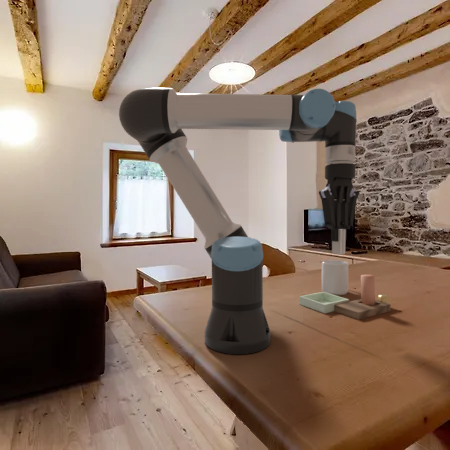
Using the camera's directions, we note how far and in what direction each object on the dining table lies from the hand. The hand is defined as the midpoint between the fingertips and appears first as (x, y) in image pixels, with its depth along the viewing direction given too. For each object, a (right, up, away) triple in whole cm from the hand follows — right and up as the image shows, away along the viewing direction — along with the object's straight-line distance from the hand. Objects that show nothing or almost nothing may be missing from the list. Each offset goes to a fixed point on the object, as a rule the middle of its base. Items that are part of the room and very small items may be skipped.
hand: (338, 253), depth 86 cm
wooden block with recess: (+9, -18, +7) cm, 22 cm away
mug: (+9, -17, +29) cm, 35 cm away
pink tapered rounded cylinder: (+12, -17, +8) cm, 22 cm away
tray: (0, -18, +12) cm, 21 cm away
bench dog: (+17, -18, +11) cm, 27 cm away
